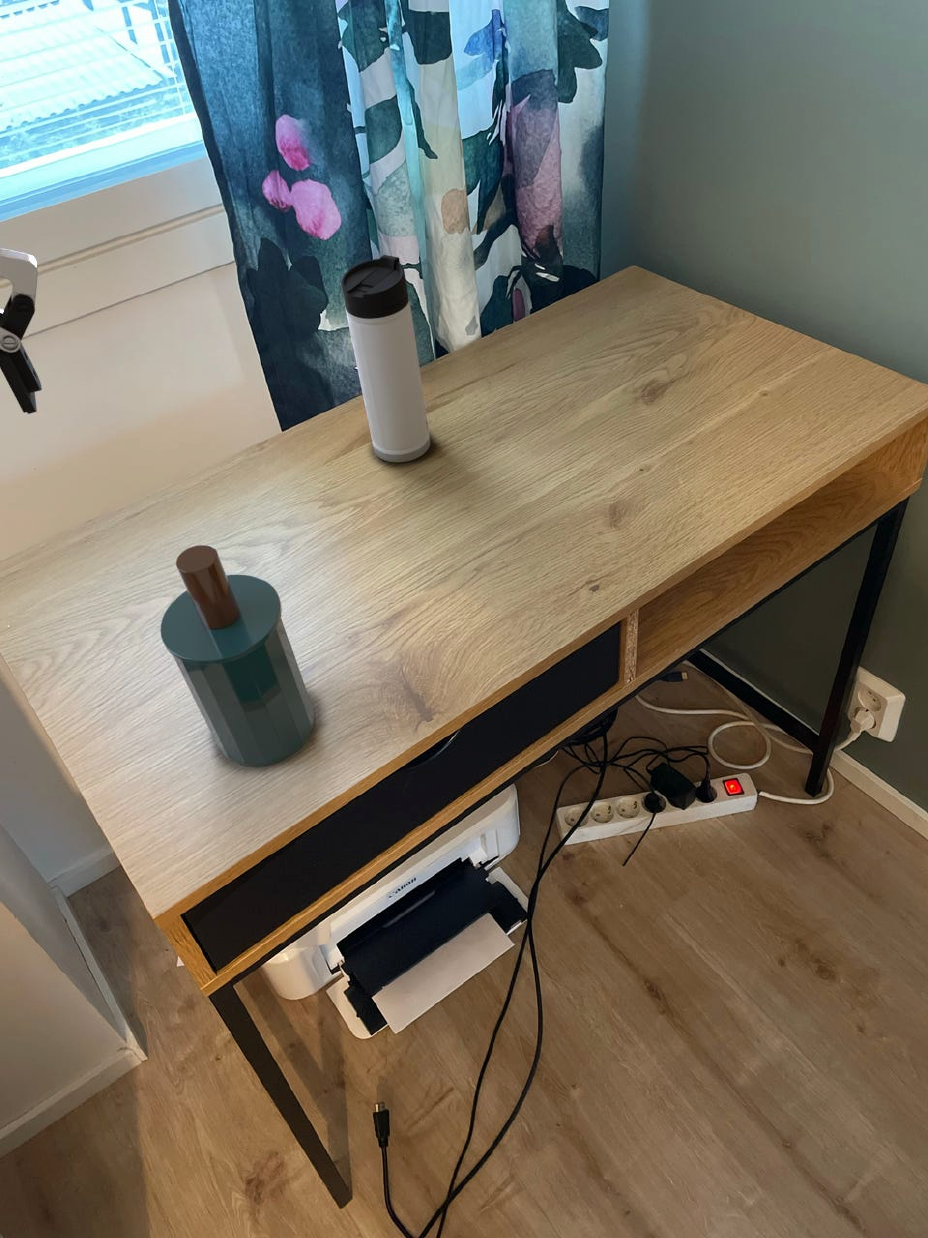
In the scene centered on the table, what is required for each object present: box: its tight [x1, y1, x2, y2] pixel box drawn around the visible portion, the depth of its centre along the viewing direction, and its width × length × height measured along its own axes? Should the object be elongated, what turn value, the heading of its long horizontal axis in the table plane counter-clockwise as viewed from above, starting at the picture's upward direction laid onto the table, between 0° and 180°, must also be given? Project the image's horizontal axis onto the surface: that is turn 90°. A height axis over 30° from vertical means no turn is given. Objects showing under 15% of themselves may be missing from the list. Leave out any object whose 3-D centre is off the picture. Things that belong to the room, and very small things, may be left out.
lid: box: [159, 544, 283, 665], centre depth 62 cm, size 9×9×7 cm
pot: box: [172, 617, 315, 768], centre depth 69 cm, size 8×8×12 cm
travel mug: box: [340, 254, 431, 463], centre depth 92 cm, size 6×7×20 cm
